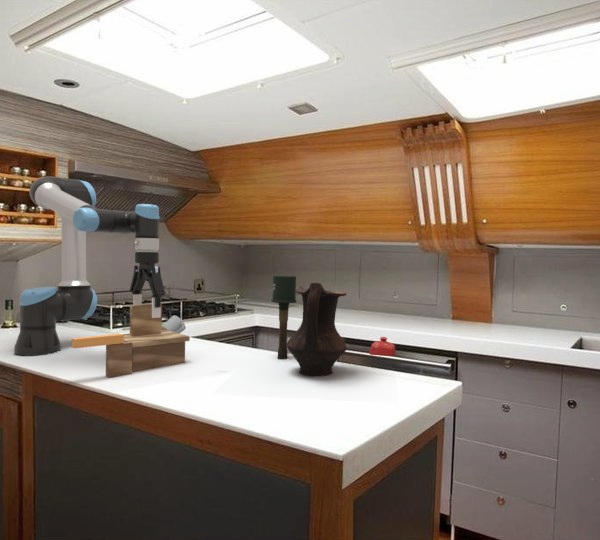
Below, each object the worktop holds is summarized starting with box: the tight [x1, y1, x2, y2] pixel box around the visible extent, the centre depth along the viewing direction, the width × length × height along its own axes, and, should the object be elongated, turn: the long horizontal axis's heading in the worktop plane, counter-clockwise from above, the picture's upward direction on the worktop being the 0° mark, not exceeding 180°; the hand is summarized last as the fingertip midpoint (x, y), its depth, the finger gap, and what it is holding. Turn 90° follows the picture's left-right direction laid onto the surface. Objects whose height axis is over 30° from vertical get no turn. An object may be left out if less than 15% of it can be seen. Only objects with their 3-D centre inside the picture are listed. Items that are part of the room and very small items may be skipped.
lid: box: [122, 303, 190, 348], centre depth 164 cm, size 16×20×12 cm
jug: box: [287, 281, 347, 378], centre depth 151 cm, size 21×18×30 cm
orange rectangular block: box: [71, 333, 124, 349], centre depth 145 cm, size 2×14×2 cm, turn 133°
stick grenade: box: [270, 274, 297, 360], centre depth 171 cm, size 8×9×30 cm
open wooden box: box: [105, 341, 186, 379], centre depth 161 cm, size 16×26×10 cm, turn 133°
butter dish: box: [369, 336, 397, 357], centre depth 181 cm, size 12×12×8 cm
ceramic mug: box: [162, 314, 187, 334], centre depth 210 cm, size 11×8×8 cm
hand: (146, 315), depth 166 cm, fingers open, 13 cm apart
